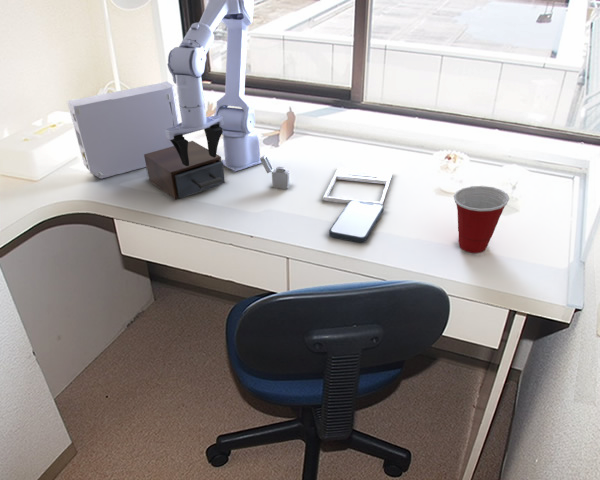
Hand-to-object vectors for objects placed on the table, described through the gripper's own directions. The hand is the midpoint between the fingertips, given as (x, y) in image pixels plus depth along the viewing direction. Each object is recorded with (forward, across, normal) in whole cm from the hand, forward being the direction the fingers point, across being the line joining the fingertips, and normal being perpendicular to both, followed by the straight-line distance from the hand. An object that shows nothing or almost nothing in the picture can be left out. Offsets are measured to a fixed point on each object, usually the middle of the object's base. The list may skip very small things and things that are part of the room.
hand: (199, 160), depth 135 cm
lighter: (+10, -17, +8) cm, 21 cm away
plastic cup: (+10, -31, +59) cm, 67 cm away
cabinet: (+9, -1, -10) cm, 14 cm away
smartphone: (+10, -19, +36) cm, 42 cm away
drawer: (+9, -1, -5) cm, 10 cm away
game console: (+10, +4, -28) cm, 30 cm away
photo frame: (+10, -32, +23) cm, 41 cm away
